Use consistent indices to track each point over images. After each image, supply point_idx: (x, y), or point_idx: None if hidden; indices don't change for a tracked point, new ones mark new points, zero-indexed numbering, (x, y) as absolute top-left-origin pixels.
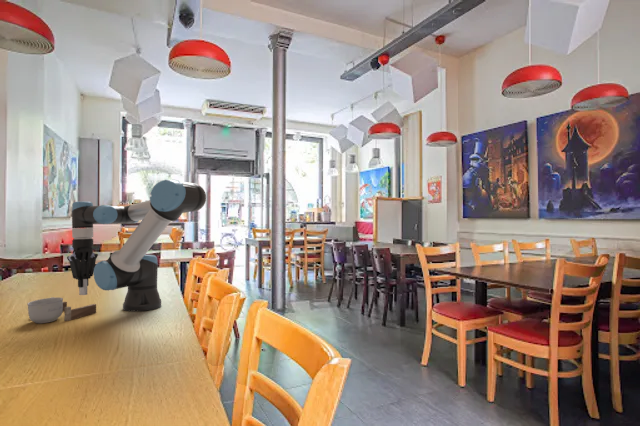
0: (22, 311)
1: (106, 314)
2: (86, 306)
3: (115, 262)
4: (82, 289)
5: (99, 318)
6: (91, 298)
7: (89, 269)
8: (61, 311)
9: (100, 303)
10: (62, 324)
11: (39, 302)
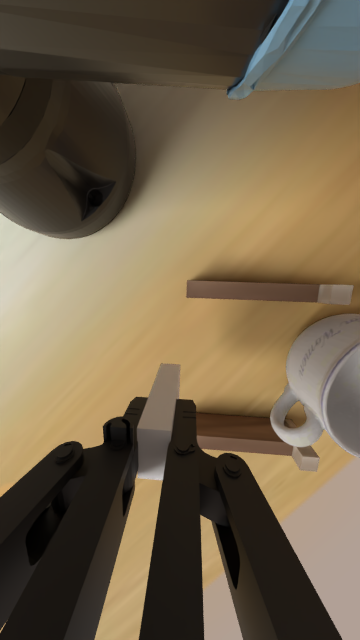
0: None
1: (198, 219)
2: (234, 287)
3: None
4: (177, 393)
5: (257, 194)
6: (25, 465)
7: (12, 570)
8: (331, 319)
9: (69, 381)
10: (357, 262)
11: (354, 442)
